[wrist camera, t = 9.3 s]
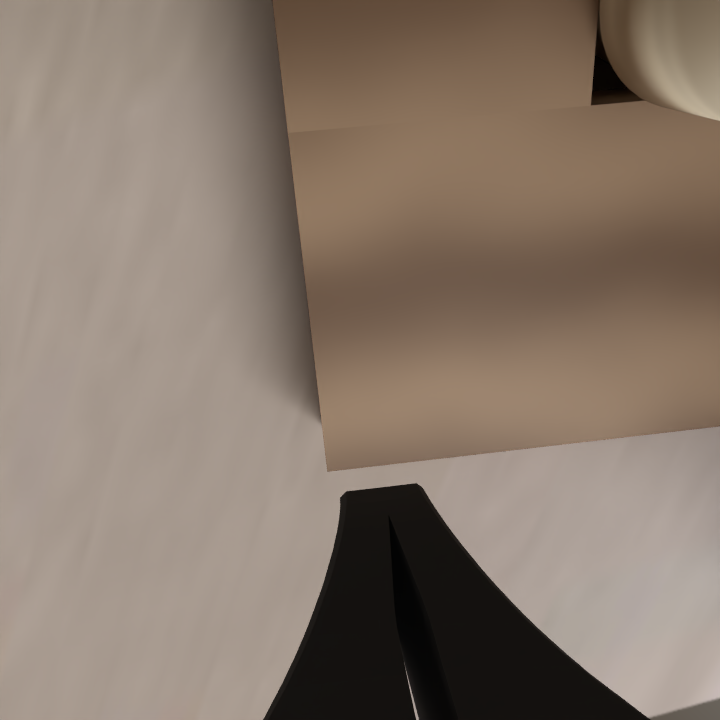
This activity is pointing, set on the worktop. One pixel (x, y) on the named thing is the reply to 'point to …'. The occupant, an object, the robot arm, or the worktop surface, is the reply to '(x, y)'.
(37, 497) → the worktop surface
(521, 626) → the robot arm
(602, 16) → the peg
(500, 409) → the board
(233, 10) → the worktop surface
